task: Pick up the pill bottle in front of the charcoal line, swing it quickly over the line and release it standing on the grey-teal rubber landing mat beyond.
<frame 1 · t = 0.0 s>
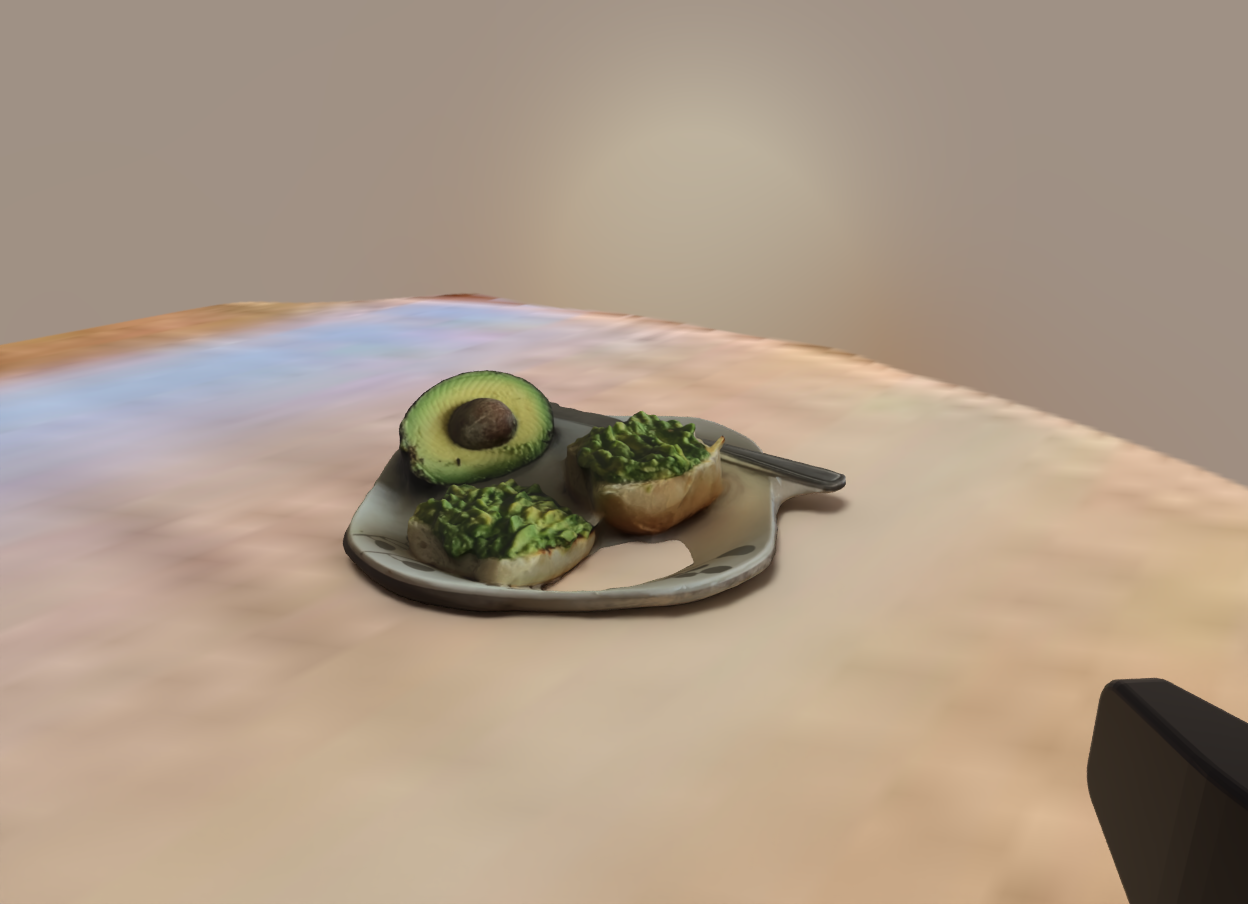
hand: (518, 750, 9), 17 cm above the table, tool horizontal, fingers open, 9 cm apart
salad plate: (562, 522, 49), on the table
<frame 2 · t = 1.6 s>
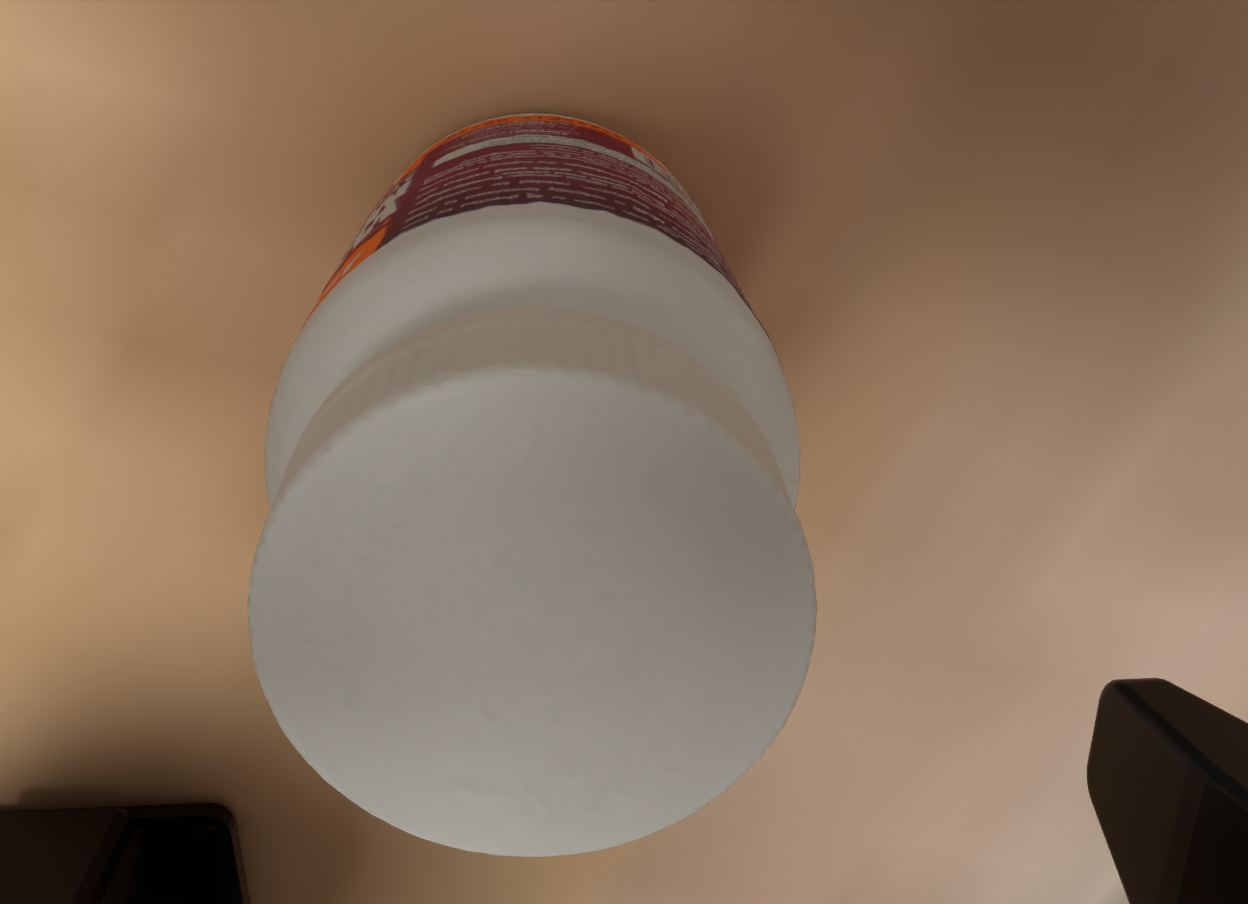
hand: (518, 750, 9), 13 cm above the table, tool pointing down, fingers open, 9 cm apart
pill bottle: (540, 285, 21), on the table
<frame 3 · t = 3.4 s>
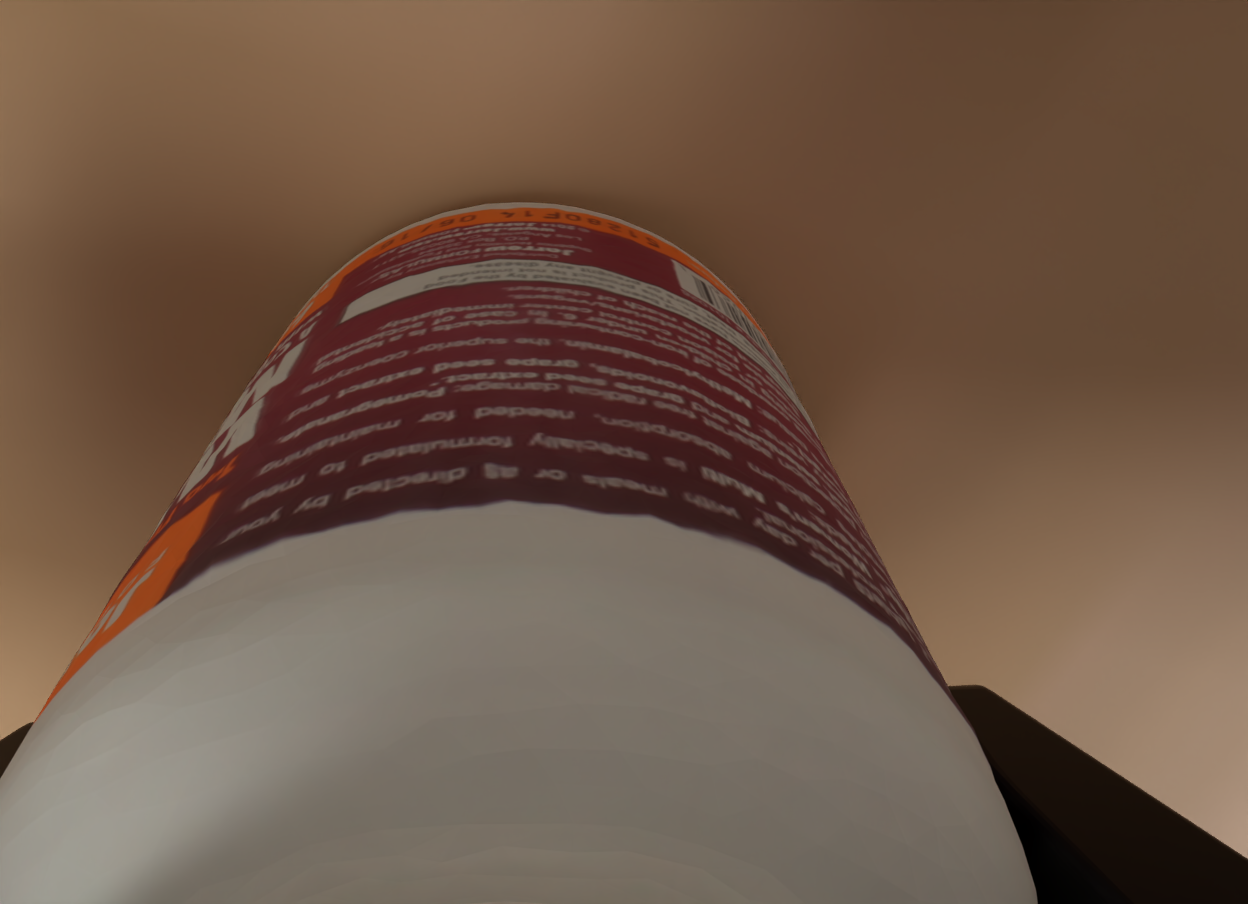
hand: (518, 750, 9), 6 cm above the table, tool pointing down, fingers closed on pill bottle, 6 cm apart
pill bottle: (532, 445, 14), on the table, touching gripper
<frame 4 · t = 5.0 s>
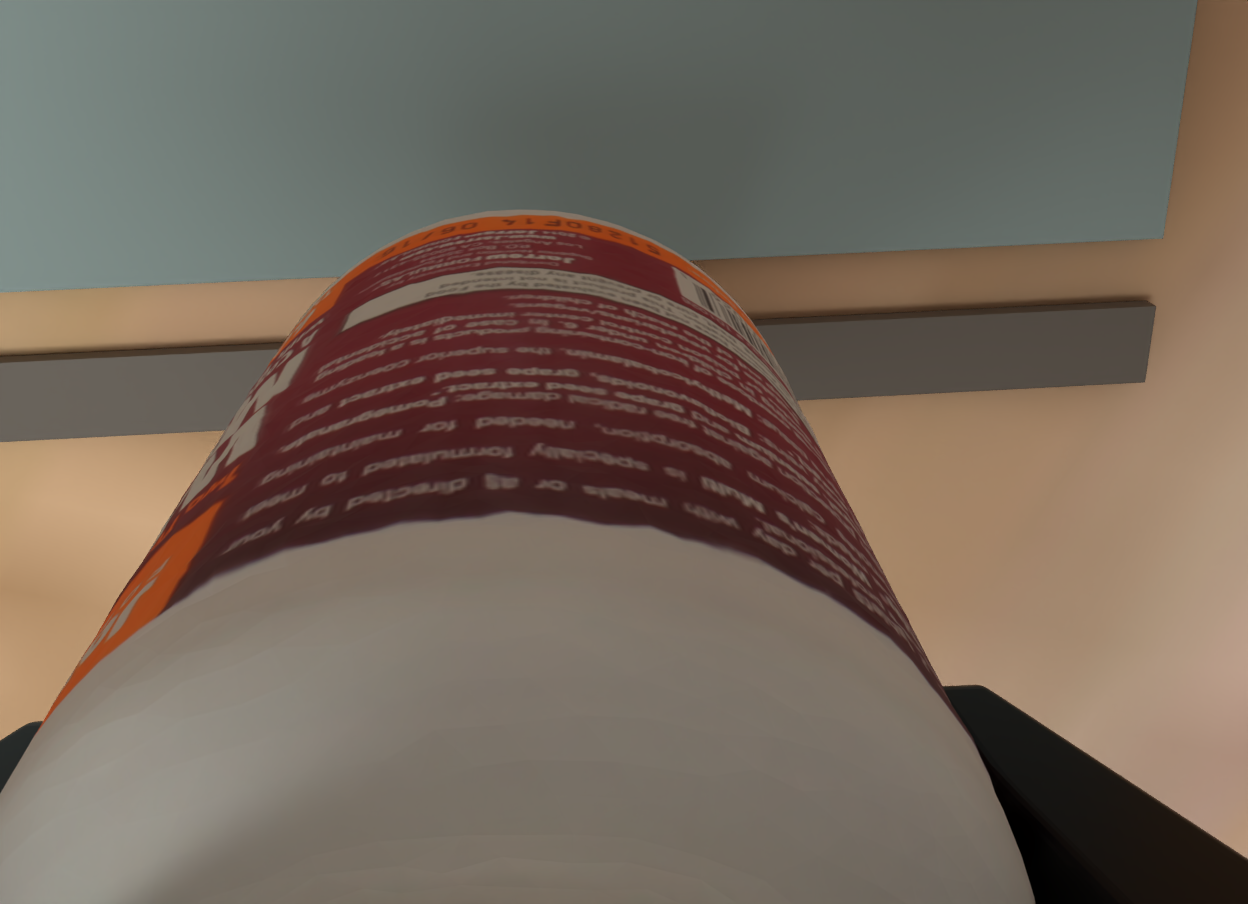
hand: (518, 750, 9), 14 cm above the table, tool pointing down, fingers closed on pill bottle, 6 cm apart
pill bottle: (533, 451, 14), point 8 cm above the table, touching gripper
throw line: (513, 370, 22), on the table
when the fingers open (7 cm above the table, at t = 7.2 s): pill bottle drops 1 cm, resting on landing mat.
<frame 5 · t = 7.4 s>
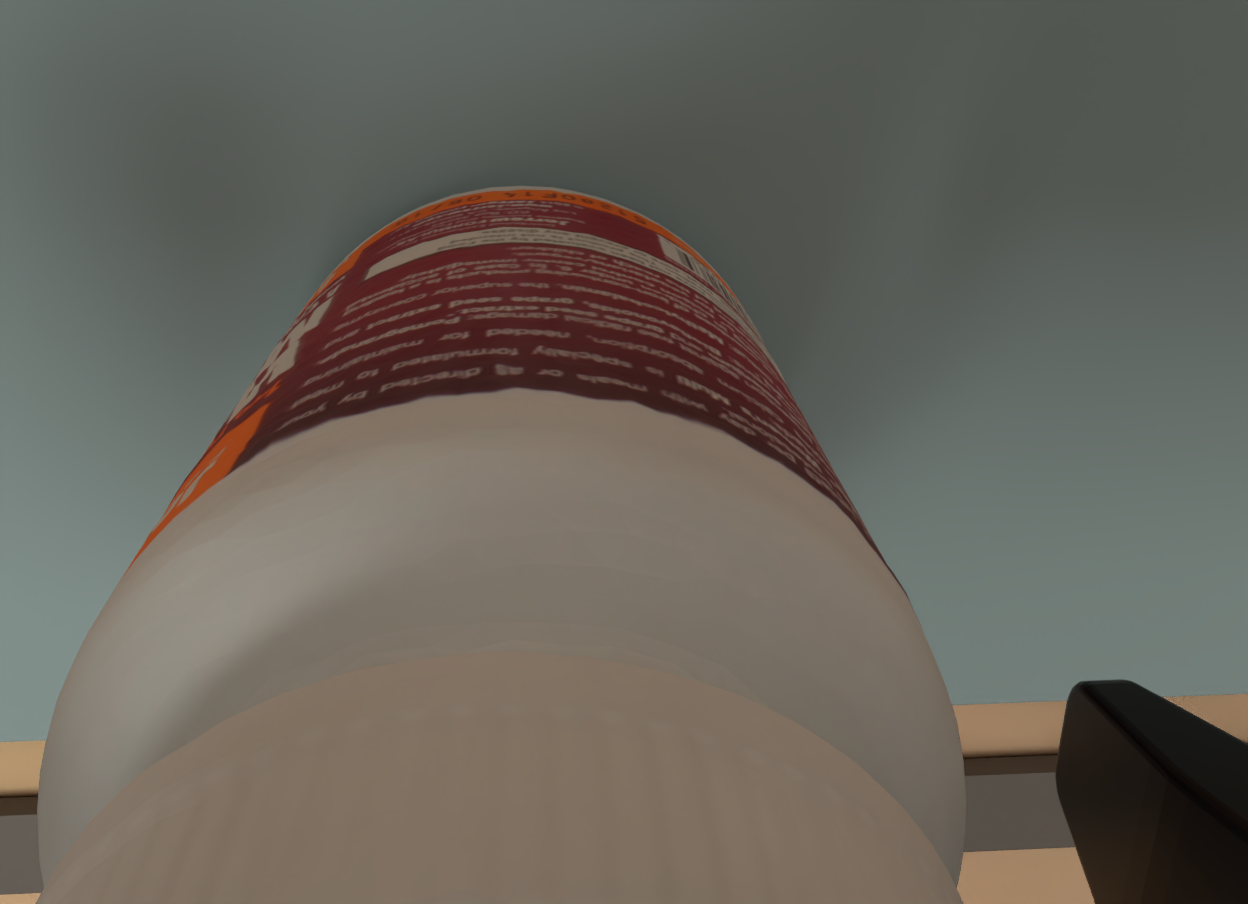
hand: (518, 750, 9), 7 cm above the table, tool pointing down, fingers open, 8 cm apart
pill bottle: (531, 412, 15), resting on landing mat
landing mat: (535, 394, 16), on the table
throw line: (552, 814, 18), on the table
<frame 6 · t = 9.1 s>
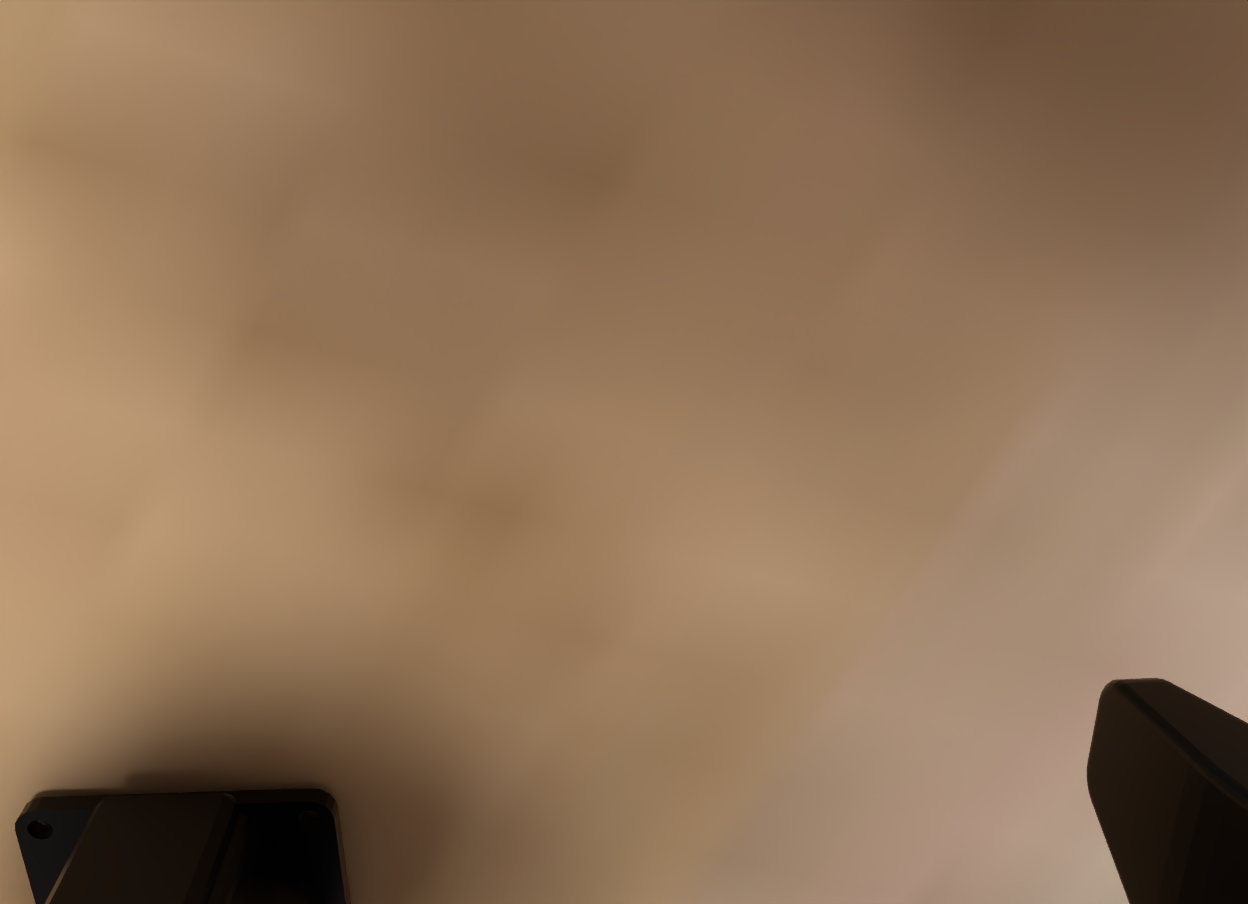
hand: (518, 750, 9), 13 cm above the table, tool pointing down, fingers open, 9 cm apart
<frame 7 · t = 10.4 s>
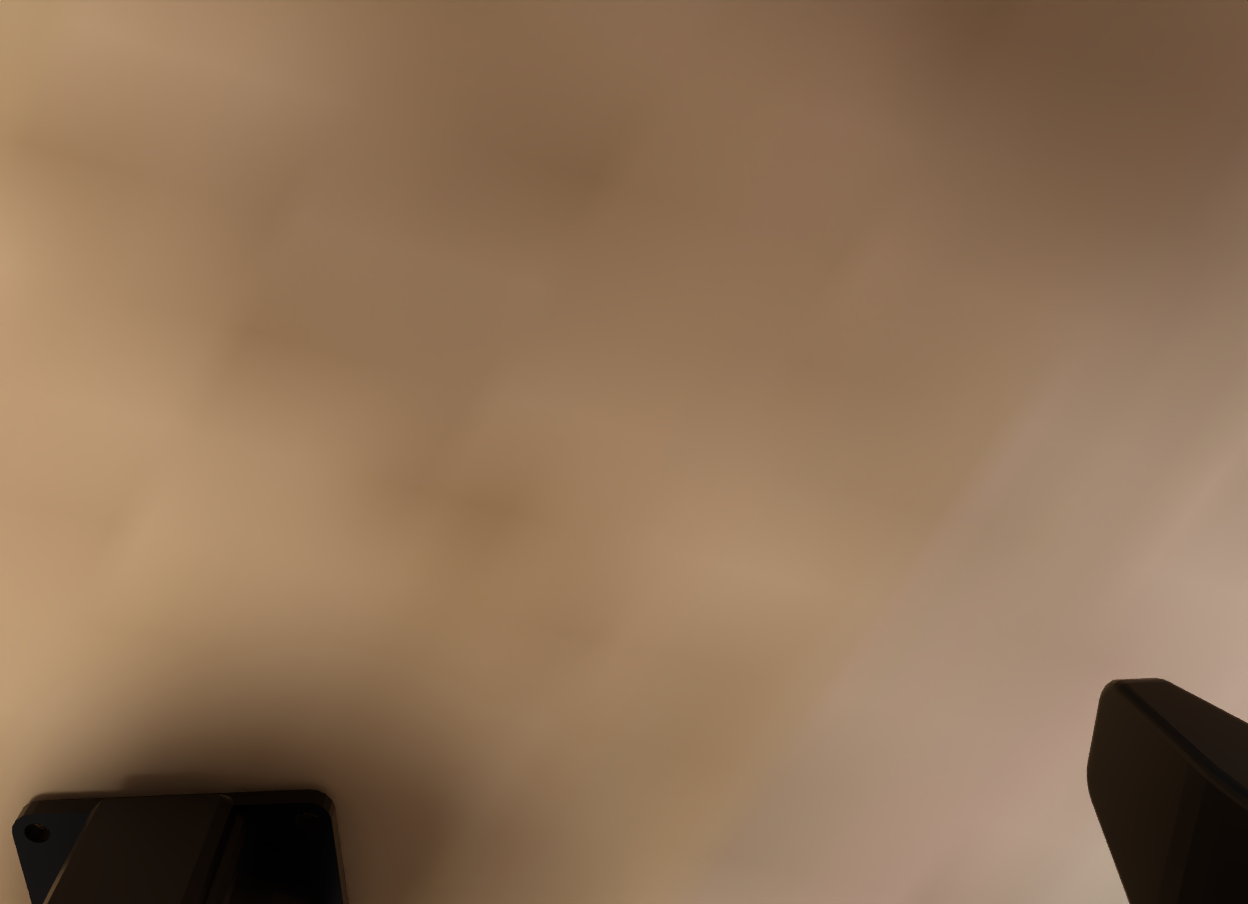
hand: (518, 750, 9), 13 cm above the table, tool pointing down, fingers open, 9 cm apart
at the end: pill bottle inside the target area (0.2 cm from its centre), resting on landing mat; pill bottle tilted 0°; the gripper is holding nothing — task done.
